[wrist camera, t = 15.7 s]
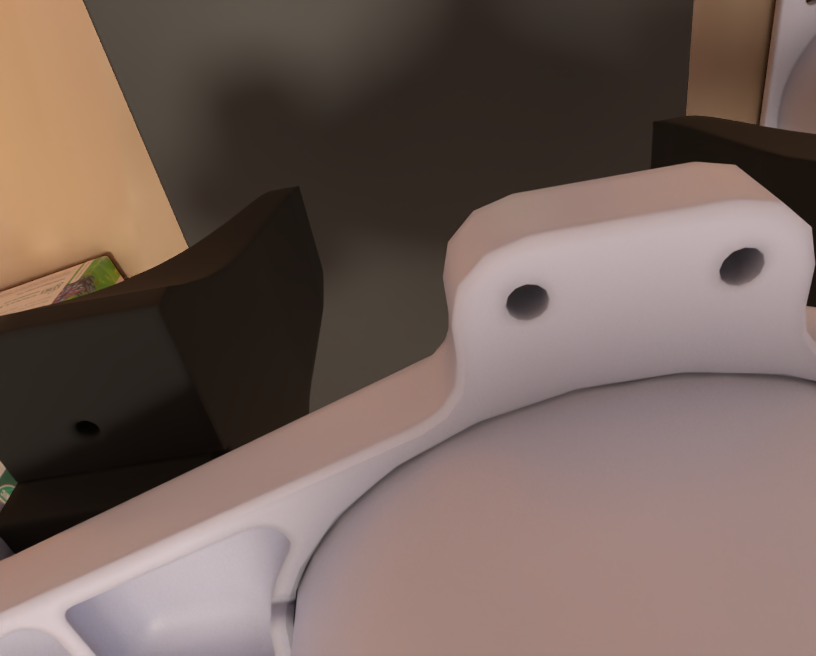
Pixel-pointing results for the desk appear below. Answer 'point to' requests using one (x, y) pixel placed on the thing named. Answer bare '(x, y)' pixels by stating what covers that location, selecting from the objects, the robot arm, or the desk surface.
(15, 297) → the syrup box
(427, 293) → the small drawer cabinet
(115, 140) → the desk surface
